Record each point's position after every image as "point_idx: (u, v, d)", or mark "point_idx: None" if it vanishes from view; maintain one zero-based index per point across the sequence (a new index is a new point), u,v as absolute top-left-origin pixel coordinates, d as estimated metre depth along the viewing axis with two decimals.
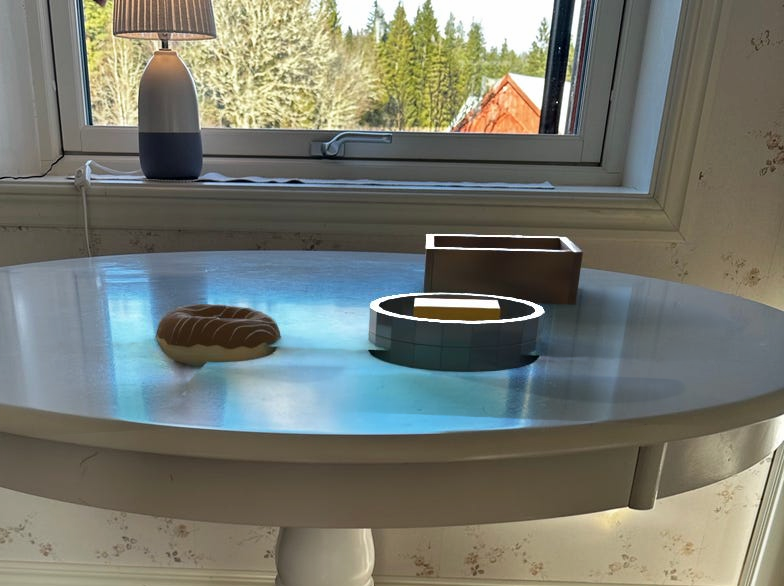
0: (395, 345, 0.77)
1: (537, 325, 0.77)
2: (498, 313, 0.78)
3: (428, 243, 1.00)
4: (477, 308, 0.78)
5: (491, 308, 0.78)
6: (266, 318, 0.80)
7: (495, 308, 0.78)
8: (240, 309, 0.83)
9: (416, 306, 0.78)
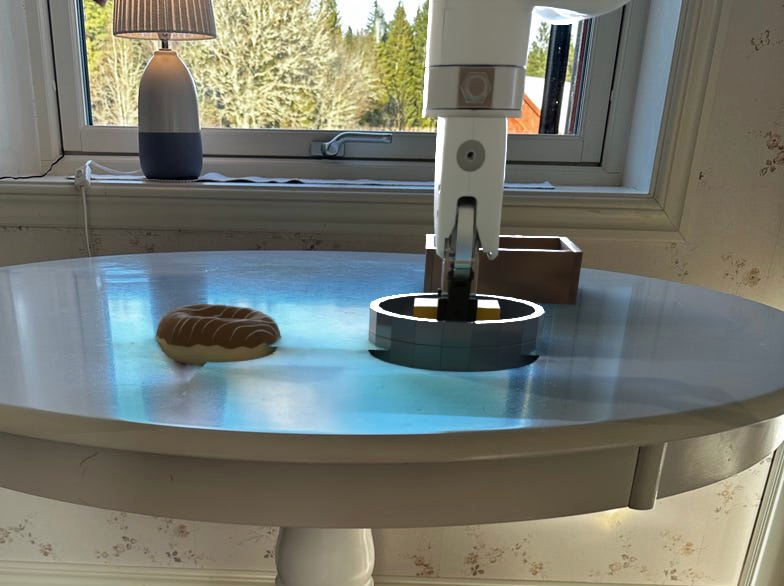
0: (395, 345, 0.77)
1: (537, 325, 0.77)
2: (498, 313, 0.78)
3: (428, 243, 1.00)
4: (477, 308, 0.78)
5: (491, 308, 0.78)
6: (266, 318, 0.80)
7: (495, 308, 0.78)
8: (240, 309, 0.83)
9: (416, 306, 0.78)
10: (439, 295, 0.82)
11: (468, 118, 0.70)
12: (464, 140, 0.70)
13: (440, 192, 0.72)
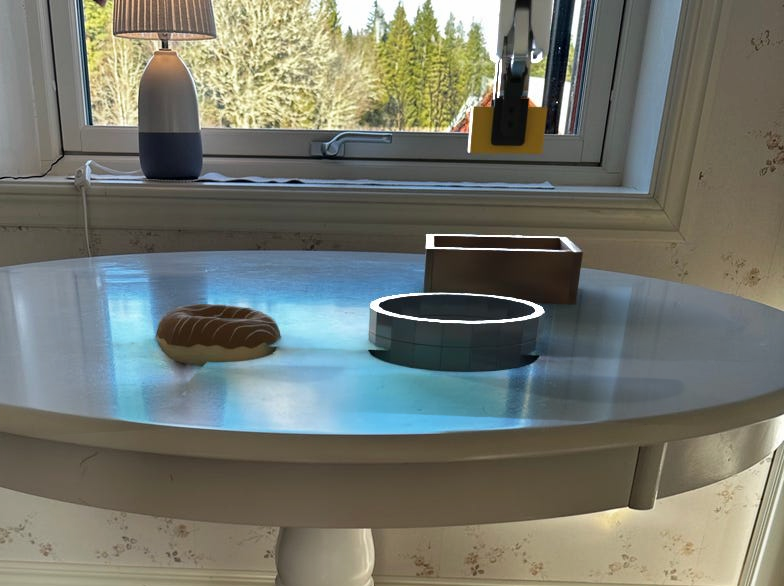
0: (395, 345, 0.77)
1: (537, 325, 0.77)
2: (545, 111, 0.91)
3: (428, 243, 1.00)
4: None
5: (539, 107, 0.91)
6: (266, 318, 0.80)
7: (543, 107, 0.91)
8: (240, 309, 0.83)
9: (475, 107, 0.91)
10: (493, 104, 0.95)
11: None
12: None
13: None
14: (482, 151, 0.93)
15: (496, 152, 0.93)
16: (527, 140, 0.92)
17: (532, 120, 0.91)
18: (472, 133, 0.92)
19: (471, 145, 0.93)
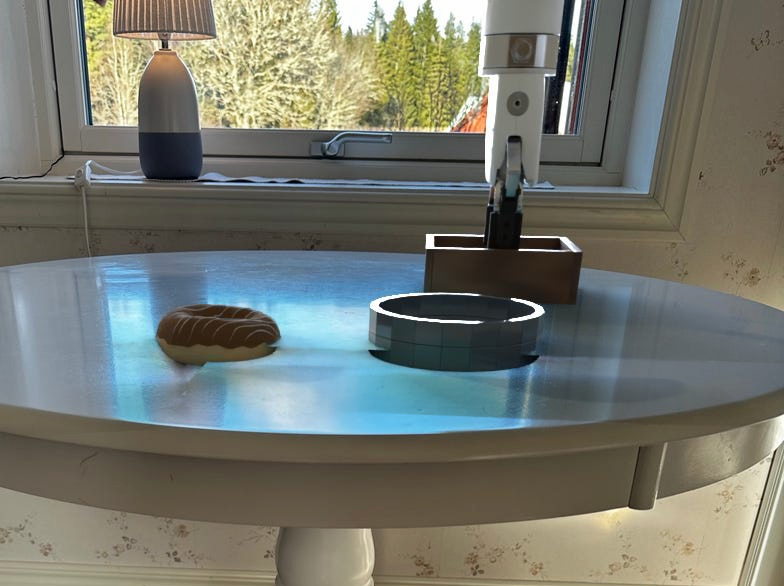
0: (395, 345, 0.77)
1: (537, 325, 0.77)
2: None
3: (428, 243, 1.00)
4: None
5: None
6: (266, 318, 0.80)
7: None
8: (240, 309, 0.83)
9: None
10: (487, 210, 1.04)
11: (516, 74, 0.91)
12: (513, 91, 0.91)
13: (493, 132, 0.93)
14: None
15: None
16: None
17: None
18: None
19: None
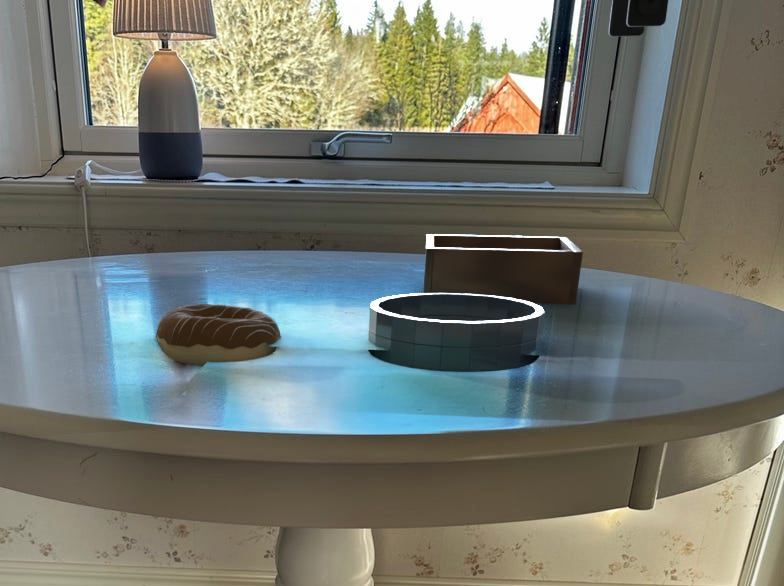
0: (395, 345, 0.77)
1: (537, 325, 0.77)
2: None
3: (428, 243, 1.00)
4: None
5: None
6: (266, 318, 0.80)
7: None
8: (240, 309, 0.83)
9: None
10: None
11: None
12: None
13: None
14: None
15: None
16: None
17: None
18: None
19: None
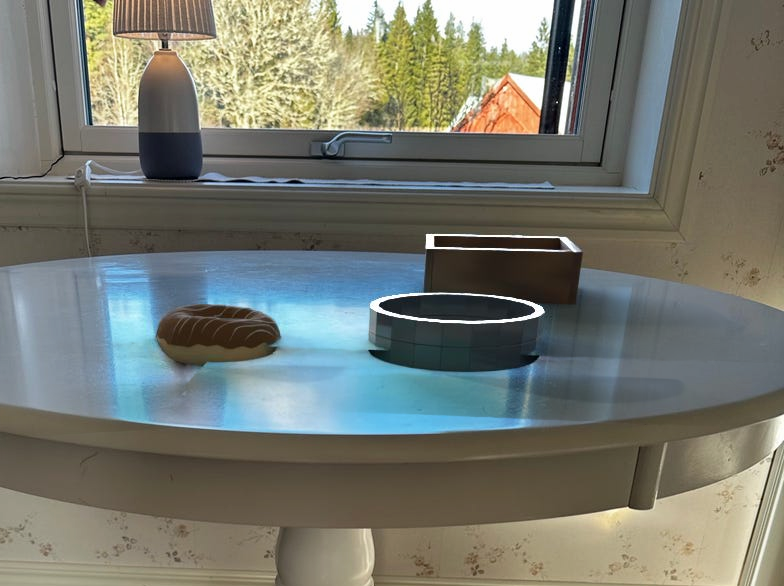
0: (395, 345, 0.77)
1: (537, 325, 0.77)
2: None
3: (428, 243, 1.00)
4: None
5: None
6: (266, 318, 0.80)
7: None
8: (240, 309, 0.83)
9: None
10: None
11: None
12: None
13: None
14: None
15: None
16: None
17: None
18: None
19: None
